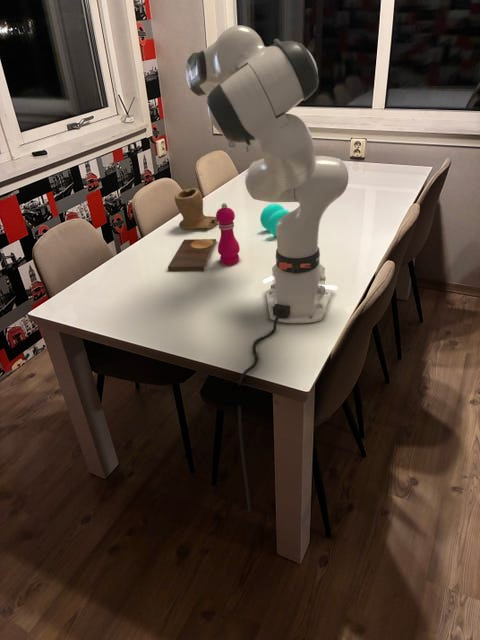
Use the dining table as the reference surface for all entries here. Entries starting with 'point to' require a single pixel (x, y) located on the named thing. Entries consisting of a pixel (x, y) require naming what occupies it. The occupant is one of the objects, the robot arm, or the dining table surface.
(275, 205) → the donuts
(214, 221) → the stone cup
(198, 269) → the serving board
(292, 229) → the robot arm
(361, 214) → the dining table surface
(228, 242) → the pepper mill
